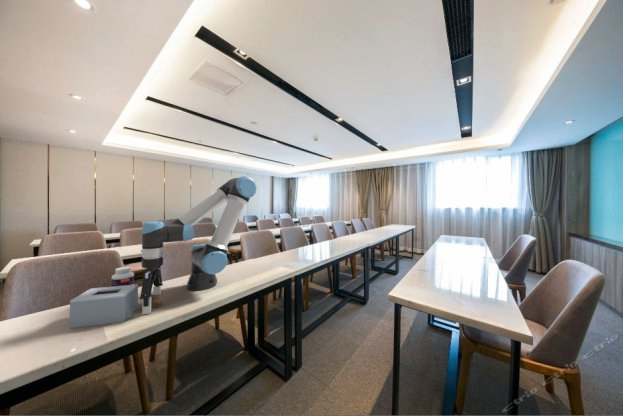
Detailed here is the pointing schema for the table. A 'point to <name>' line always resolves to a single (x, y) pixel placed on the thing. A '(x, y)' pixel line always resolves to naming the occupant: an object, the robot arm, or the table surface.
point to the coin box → (103, 305)
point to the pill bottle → (122, 277)
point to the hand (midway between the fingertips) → (152, 306)
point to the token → (156, 301)
